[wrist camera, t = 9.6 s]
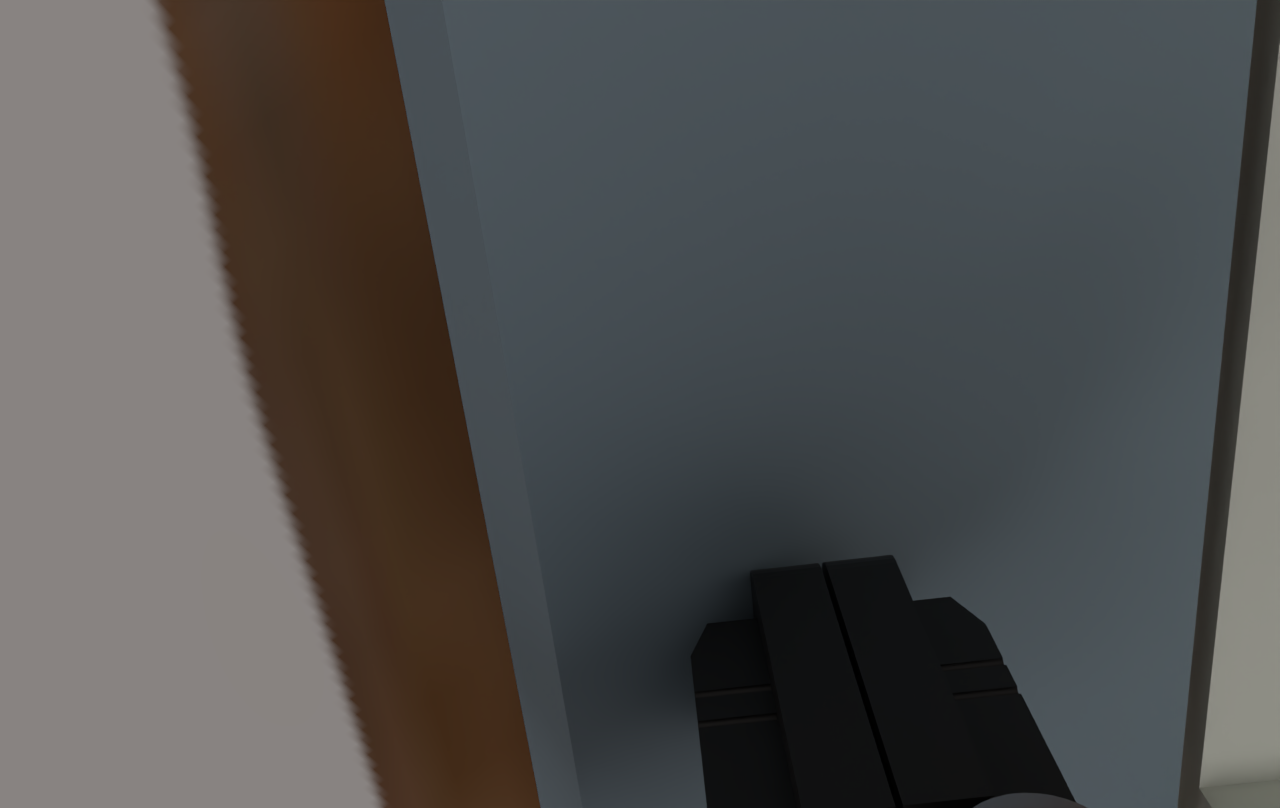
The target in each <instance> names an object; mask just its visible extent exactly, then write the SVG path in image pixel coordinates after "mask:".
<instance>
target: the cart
mask: <svg viewBox="0 0 1280 808" xmlns="http://www.w3.org/2000/svg"><path fill="white" fill-rule="evenodd" d="M1177 807H1178V808H1280V0H1257V5H1256V15H1255V25H1254V35H1253V46H1252V56H1251V66H1250V76H1249V86H1248V96H1247V106H1246V116H1245V127H1244V137H1243V147H1242V157H1241V167H1240V177H1239V187H1238V197H1237V208H1236V218H1235V228H1234V238H1233V248H1232V258H1231V268H1230V278H1229V289H1228V299H1227V309H1226V319H1225V329H1224V339H1223V349H1222V360H1221V370H1220V380H1219V390H1218V400H1217V410H1216V420H1215V430H1214V441H1213V451H1212V461H1211V471H1210V481H1209V491H1208V501H1207V511H1206V522H1205V532H1204V542H1203V552H1202V562H1201V572H1200V582H1199V592H1198V603H1197V613H1196V623H1195V633H1194V643H1193V653H1192V663H1191V674H1190V684H1189V694H1188V704H1187V714H1186V724H1185V734H1184V744H1183V755H1182V765H1181V775H1180V785H1179V795H1178V805H1177Z"/></svg>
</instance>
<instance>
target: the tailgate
mask: <svg viewBox="0 0 1280 808" xmlns="http://www.w3.org/2000/svg"><path fill="white" fill-rule="evenodd" d="M385 5H386V10H387V15H388V20H389V26H390V31H391V36H392V41H393V46H394V51H395V57H396V62H397V67H398V72H399V77H400V82H401V88H402V93H403V98H404V103H405V108H406V114H407V119H408V124H409V129H410V134H411V139H412V145H413V150H414V155H415V160H416V165H417V170H418V176H419V181H420V186H421V191H422V196H423V201H424V207H425V212H426V217H427V222H428V227H429V232H430V238H431V243H432V248H433V253H434V258H435V263H436V269H437V274H438V279H439V284H440V289H441V294H442V300H443V305H444V310H445V315H446V320H447V325H448V331H449V336H450V341H451V346H452V351H453V356H454V362H455V367H456V372H457V377H458V382H459V387H460V393H461V398H462V403H463V408H464V413H465V418H466V424H467V429H468V434H469V439H470V444H471V449H472V455H473V460H474V465H475V470H476V475H477V480H478V486H479V491H480V496H481V501H482V506H483V511H484V517H485V522H486V527H487V532H488V537H489V542H490V548H491V553H492V558H493V563H494V568H495V574H496V579H497V584H498V589H499V594H500V599H501V605H502V610H503V615H504V620H505V625H506V630H507V636H508V641H509V646H510V651H511V656H512V661H513V667H514V672H515V677H516V682H517V687H518V692H519V698H520V703H521V708H522V713H523V718H524V723H525V729H526V734H527V739H528V744H529V749H530V754H531V760H532V765H533V770H534V775H535V780H536V785H537V791H538V796H539V801H540V806H541V808H707V803H706V794H705V785H704V776H703V767H702V758H701V748H700V739H699V730H698V721H697V712H696V703H695V694H694V684H693V675H692V666H691V657H690V656H691V654H692V652H693V650H694V648H695V646H696V644H697V642H698V640H699V639H700V637H701V635H702V633H703V631H704V629H705V627H706V625H707V623H716V622H726V621H735V620H744V619H753V618H754V614H753V602H752V590H751V579H750V571H751V570H760V569H769V568H778V567H787V566H796V565H805V564H814V563H819V564H820V566H821V568H822V563H823V562H829V561H839V560H848V559H857V558H866V557H875V556H884V555H893V557H894V558H895V560H896V562H897V564H898V567H899V569H900V571H901V574H902V576H903V578H904V581H905V583H906V585H907V588H908V590H909V592H910V595H911V597H912V600H913V601H914V600H923V599H932V598H942V597H952V598H953V599H954V600H956V601H957V602H958V603H959V604H961V605H962V606H963V607H965V608H966V609H967V610H968V611H970V612H971V613H972V614H974V615H975V616H976V617H977V618H979V619H980V620H981V621H983V622H984V623H985V624H986V626H987V627H988V629H989V631H990V633H991V635H992V637H993V639H994V641H995V643H996V645H997V647H998V649H999V651H1000V653H1001V655H1002V657H1003V663H1004V665H1007V667H1008V669H1009V671H1010V673H1011V675H1012V677H1013V679H1014V681H1015V683H1016V685H1017V689H1018V693H1019V694H1022V696H1023V698H1024V700H1025V702H1026V704H1027V706H1028V708H1029V710H1030V712H1031V714H1032V716H1033V718H1034V720H1035V722H1036V724H1037V726H1038V728H1039V730H1040V732H1041V734H1042V736H1043V738H1044V740H1045V742H1046V744H1047V746H1048V748H1049V750H1050V752H1051V754H1052V756H1053V758H1054V759H1055V761H1056V763H1057V765H1058V767H1059V769H1060V771H1061V773H1062V775H1063V777H1064V779H1065V781H1066V783H1067V785H1068V787H1069V789H1070V791H1071V793H1072V795H1073V797H1074V799H1075V801H1076V802H1077V803H1078V804H1081V805H1083V806H1085V807H1087V808H1177V805H1178V795H1179V785H1180V775H1181V765H1182V755H1183V744H1184V734H1185V724H1186V714H1187V704H1188V694H1189V684H1190V674H1191V663H1192V653H1193V643H1194V633H1195V623H1196V613H1197V603H1198V592H1199V582H1200V572H1201V562H1202V552H1203V542H1204V532H1205V522H1206V511H1207V501H1208V491H1209V481H1210V471H1211V461H1212V451H1213V441H1214V430H1215V420H1216V410H1217V400H1218V390H1219V380H1220V370H1221V360H1222V349H1223V339H1224V329H1225V319H1226V309H1227V299H1228V289H1229V278H1230V268H1231V258H1232V248H1233V238H1234V228H1235V218H1236V208H1237V197H1238V187H1239V177H1240V167H1241V157H1242V147H1243V137H1244V127H1245V116H1246V106H1247V96H1248V86H1249V76H1250V66H1251V56H1252V46H1253V35H1254V25H1255V15H1256V5H1257V0H385Z"/></svg>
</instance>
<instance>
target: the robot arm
mask: <svg viewBox="0 0 1280 808" xmlns="http://www.w3.org/2000/svg"><path fill="white" fill-rule="evenodd" d="M750 579H751V590H752V602H753V614H754V618H753V619H744V620H735V621H726V622H716V623H707V625H706V627H705V629H704V631H703V633H702V635H701V637H700V639H699V640H698V642H697V644H696V646H695V648H694V650H693V652H692V654H691V656H690V657H691V666H692V675H693V684H694V694H695V703H696V712H697V721H698V730H699V739H700V748H701V758H702V767H703V776H704V785H705V794H706V803H707V808H1087V807H1085V806H1083V805H1081V804H1078V803H1077V802H1076V801H1075V799H1074V797H1073V795H1072V793H1071V791H1070V789H1069V787H1068V785H1067V783H1066V781H1065V779H1064V777H1063V775H1062V773H1061V771H1060V769H1059V767H1058V765H1057V763H1056V761H1055V759H1054V758H1053V756H1052V754H1051V752H1050V750H1049V748H1048V746H1047V744H1046V742H1045V740H1044V738H1043V736H1042V734H1041V732H1040V730H1039V728H1038V726H1037V724H1036V722H1035V720H1034V718H1033V716H1032V714H1031V712H1030V710H1029V708H1028V706H1027V704H1026V702H1025V700H1024V698H1023V696H1022V694H1019V693H1018V689H1017V685H1016V683H1015V681H1014V679H1013V677H1012V675H1011V673H1010V671H1009V669H1008V667H1007V665H1004V663H1003V657H1002V655H1001V653H1000V651H999V649H998V647H997V645H996V643H995V641H994V639H993V637H992V635H991V633H990V631H989V629H988V627H987V626H986V624H985V623H984V622H983V621H981V620H980V619H979V618H977V617H976V616H975V615H974V614H972V613H971V612H970V611H968V610H967V609H966V608H965V607H963V606H962V605H961V604H959V603H958V602H957V601H956V600H954V599H953V598H952V597H942V598H932V599H923V600H914V601H913V600H912V597H911V595H910V592H909V590H908V588H907V585H906V583H905V581H904V578H903V576H902V574H901V571H900V569H899V567H898V564H897V562H896V560H895V558H894V557H893V555H884V556H875V557H866V558H857V559H848V560H839V561H829V562H823V563H822V568H821V566H820V564H819V563H814V564H805V565H796V566H787V567H778V568H769V569H760V570H751V571H750Z"/></svg>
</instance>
